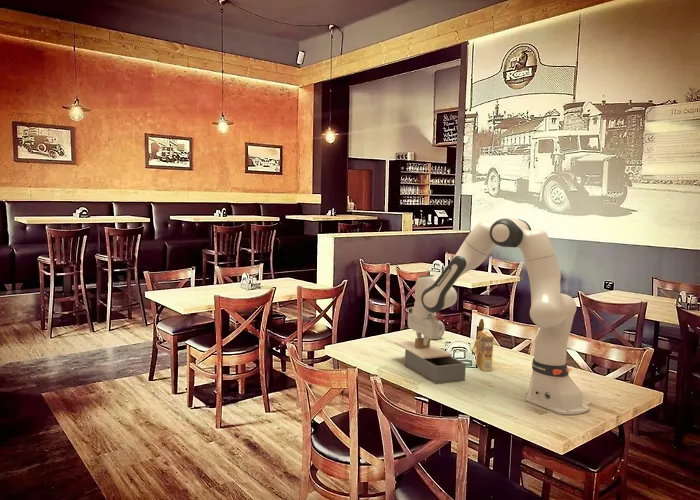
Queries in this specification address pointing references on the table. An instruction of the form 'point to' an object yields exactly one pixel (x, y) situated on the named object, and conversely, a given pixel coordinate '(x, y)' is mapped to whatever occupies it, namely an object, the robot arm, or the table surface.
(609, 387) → the table surface
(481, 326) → the hand bell
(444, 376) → the storage box
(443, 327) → the donut
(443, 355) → the lid
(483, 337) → the candy box
